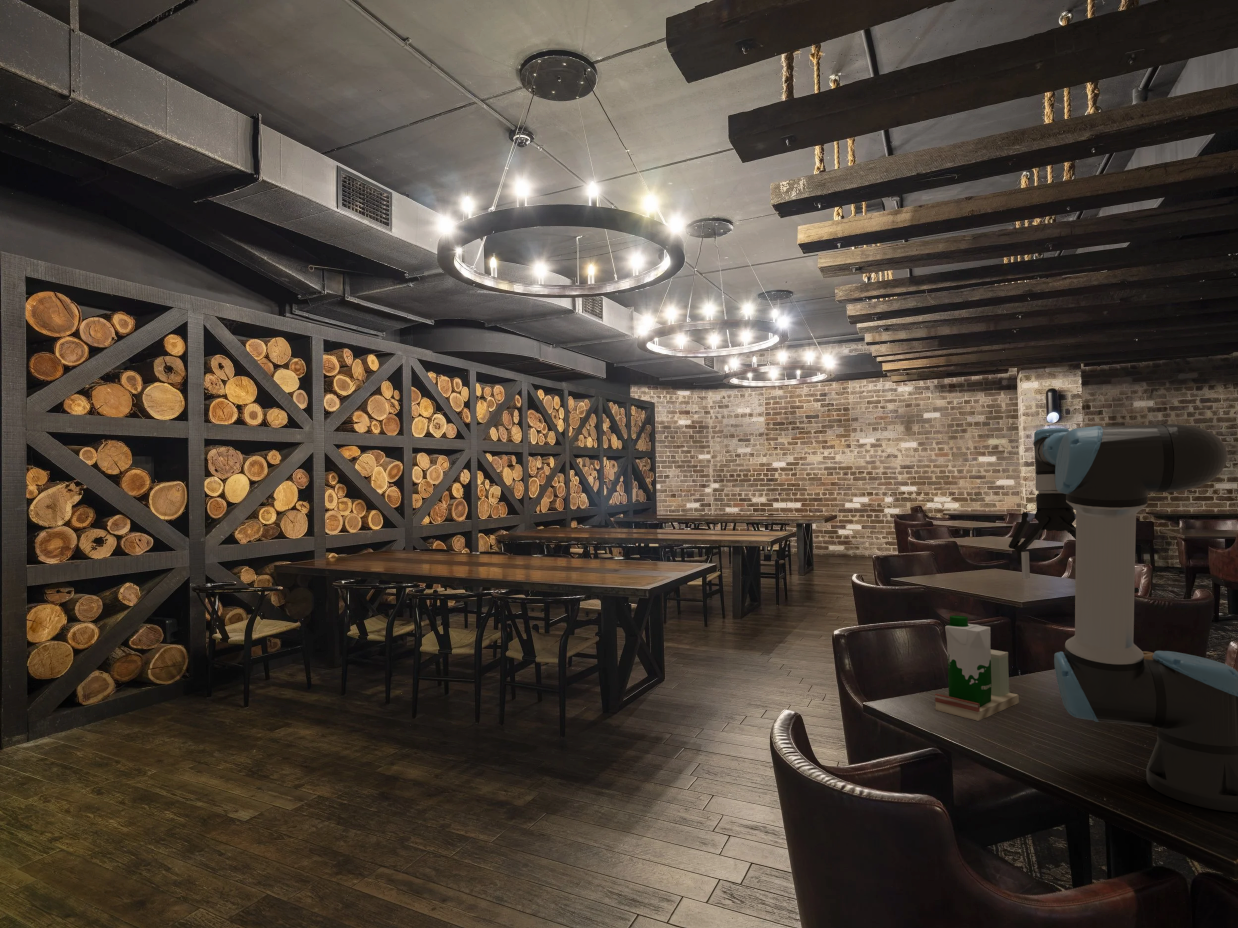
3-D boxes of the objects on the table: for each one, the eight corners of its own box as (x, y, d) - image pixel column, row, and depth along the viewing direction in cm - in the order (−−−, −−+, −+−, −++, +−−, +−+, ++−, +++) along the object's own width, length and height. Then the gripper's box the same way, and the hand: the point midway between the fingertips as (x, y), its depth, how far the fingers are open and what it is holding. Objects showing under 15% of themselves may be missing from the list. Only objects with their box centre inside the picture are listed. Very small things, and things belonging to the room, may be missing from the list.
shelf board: (978, 720, 152) (977, 704, 152) (935, 709, 160) (935, 693, 160) (1018, 702, 166) (1018, 687, 166) (977, 693, 173) (977, 678, 174)
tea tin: (1000, 696, 164) (999, 655, 164) (975, 691, 169) (973, 650, 169) (1009, 693, 167) (1008, 652, 167) (984, 687, 172) (982, 647, 172)
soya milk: (958, 693, 167) (955, 613, 168) (997, 701, 160) (994, 618, 161) (943, 700, 161) (941, 617, 162) (983, 709, 154) (980, 622, 155)
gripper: (1121, 492, 152) (1125, 584, 151) (1004, 493, 172) (1007, 575, 171) (1111, 491, 148) (1115, 587, 147) (992, 492, 167) (995, 577, 166)
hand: (1057, 580), depth 159 cm, fingers open, 13 cm apart
